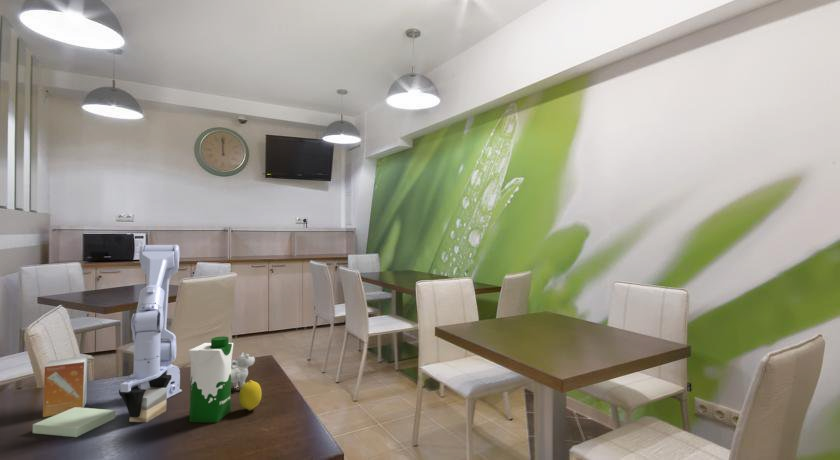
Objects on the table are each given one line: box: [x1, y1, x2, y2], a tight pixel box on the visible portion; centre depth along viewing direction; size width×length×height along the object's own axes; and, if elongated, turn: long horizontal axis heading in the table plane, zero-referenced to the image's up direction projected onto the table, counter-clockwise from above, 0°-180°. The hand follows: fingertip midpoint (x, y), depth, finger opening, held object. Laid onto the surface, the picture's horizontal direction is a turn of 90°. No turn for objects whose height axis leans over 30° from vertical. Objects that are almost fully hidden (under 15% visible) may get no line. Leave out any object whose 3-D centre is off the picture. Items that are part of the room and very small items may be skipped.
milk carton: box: [188, 336, 234, 423], centre depth 105 cm, size 9×9×20 cm
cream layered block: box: [129, 387, 168, 423], centre depth 105 cm, size 4×7×6 cm, turn 175°
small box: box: [42, 356, 88, 418], centre depth 108 cm, size 8×6×13 cm
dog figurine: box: [231, 352, 256, 389], centre depth 123 cm, size 5×13×11 cm, turn 148°
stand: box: [32, 407, 116, 438], centre depth 99 cm, size 12×10×2 cm
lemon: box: [238, 379, 263, 411], centre depth 108 cm, size 6×6×8 cm
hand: (146, 410), depth 105 cm, fingers closed on cream layered block, 7 cm apart
